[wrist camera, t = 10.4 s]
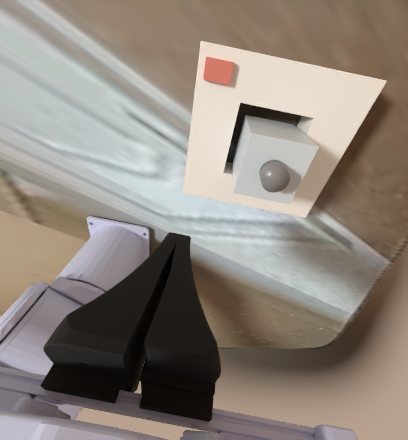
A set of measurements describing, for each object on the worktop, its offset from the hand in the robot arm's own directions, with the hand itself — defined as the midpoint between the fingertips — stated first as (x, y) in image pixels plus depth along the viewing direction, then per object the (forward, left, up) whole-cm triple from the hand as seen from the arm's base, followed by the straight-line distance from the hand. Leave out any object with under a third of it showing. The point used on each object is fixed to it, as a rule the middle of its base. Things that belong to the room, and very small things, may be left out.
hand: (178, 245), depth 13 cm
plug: (+5, -5, -10) cm, 12 cm away
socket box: (+5, -5, -10) cm, 13 cm away
